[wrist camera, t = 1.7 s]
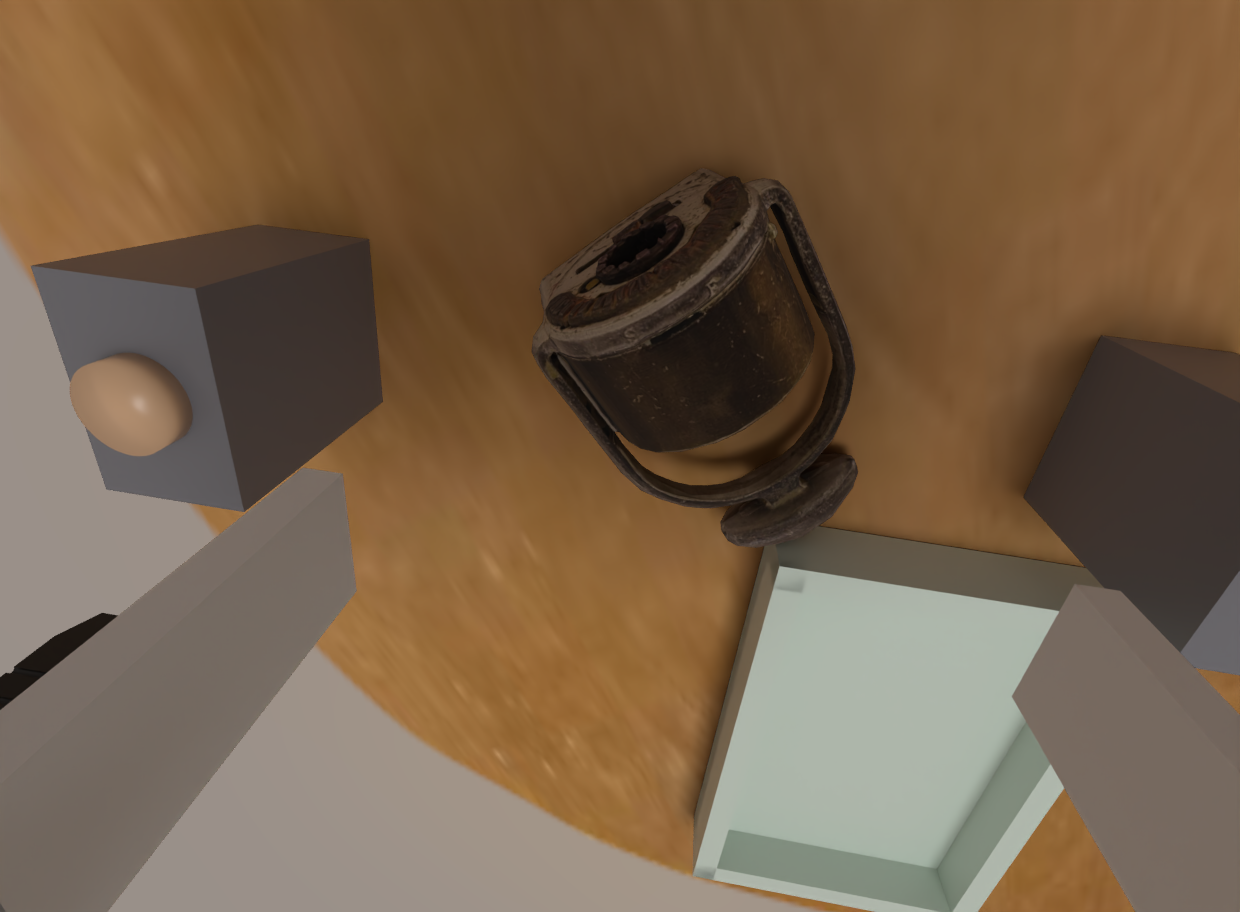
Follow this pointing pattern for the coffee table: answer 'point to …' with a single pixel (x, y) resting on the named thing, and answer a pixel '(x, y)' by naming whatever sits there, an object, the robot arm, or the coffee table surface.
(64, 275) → the far-side block
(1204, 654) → the block
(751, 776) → the sage tray
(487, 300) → the coffee table surface
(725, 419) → the brown alarm clock
